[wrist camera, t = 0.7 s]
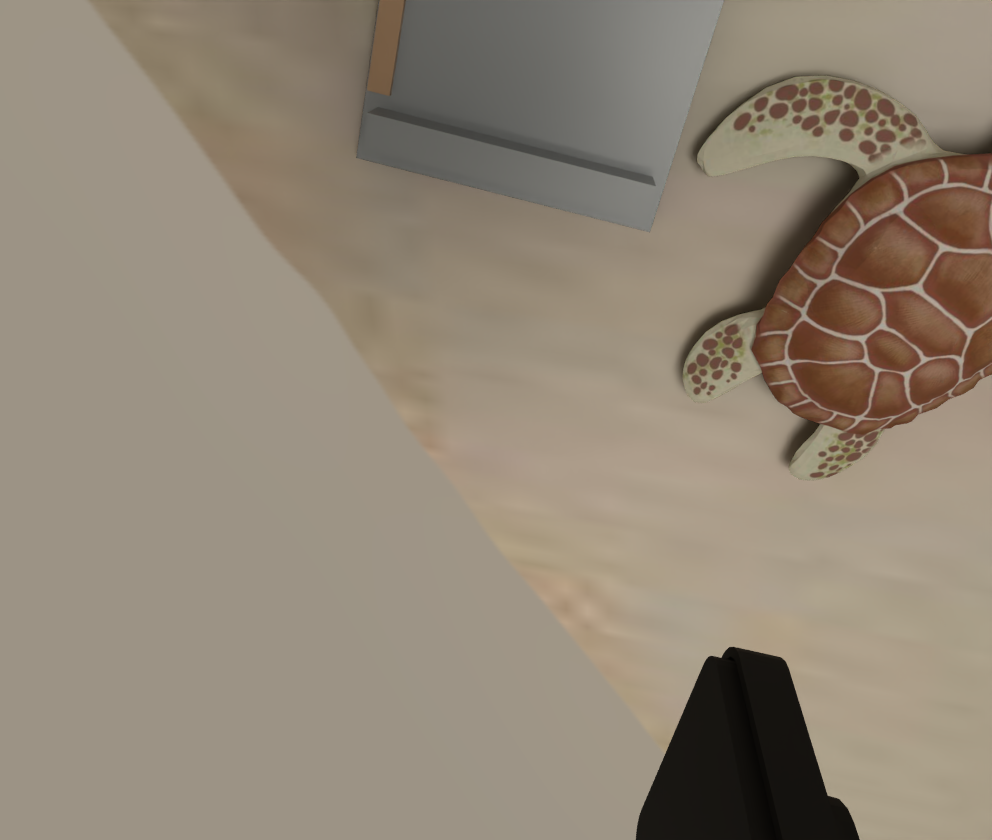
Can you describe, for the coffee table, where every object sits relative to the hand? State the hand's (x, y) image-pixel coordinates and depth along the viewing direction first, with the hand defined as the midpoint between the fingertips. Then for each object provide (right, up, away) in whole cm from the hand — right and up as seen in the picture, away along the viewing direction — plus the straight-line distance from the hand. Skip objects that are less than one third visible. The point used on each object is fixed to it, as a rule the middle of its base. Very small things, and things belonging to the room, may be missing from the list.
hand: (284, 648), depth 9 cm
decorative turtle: (+18, +8, +22) cm, 30 cm away
